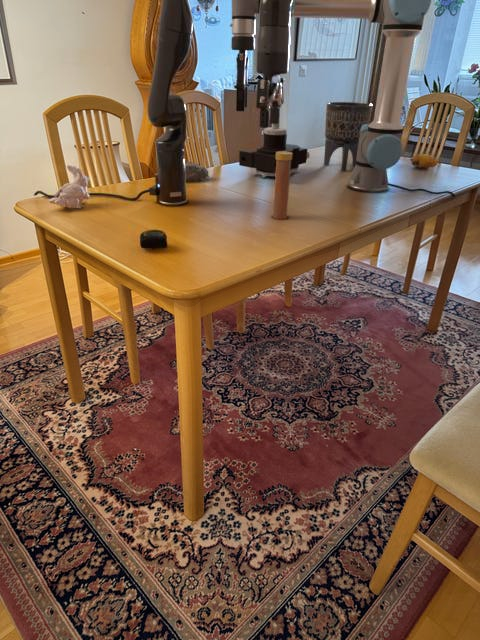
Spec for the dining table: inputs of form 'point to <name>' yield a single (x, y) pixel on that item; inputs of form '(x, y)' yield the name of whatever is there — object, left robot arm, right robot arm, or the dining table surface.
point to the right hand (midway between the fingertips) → (241, 109)
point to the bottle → (281, 189)
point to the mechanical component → (273, 153)
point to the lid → (283, 156)
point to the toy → (424, 161)
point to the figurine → (72, 190)
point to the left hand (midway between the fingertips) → (269, 125)
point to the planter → (344, 129)
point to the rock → (195, 172)
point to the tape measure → (153, 239)
